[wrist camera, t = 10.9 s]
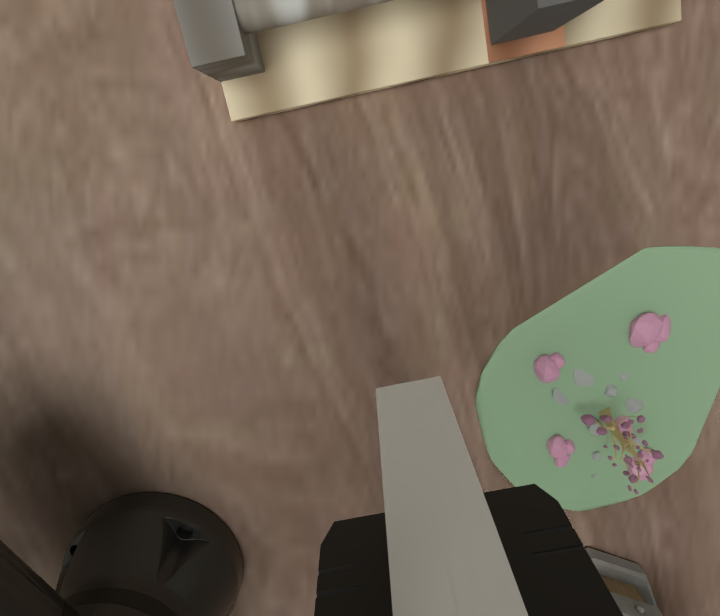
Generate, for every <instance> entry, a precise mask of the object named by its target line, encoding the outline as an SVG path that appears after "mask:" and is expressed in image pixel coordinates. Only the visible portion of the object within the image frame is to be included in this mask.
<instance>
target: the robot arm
mask: <svg viewBox="0 0 720 616" xmlns="http://www.w3.org/2000/svg"><path fill="white" fill-rule="evenodd" d="M375 389H376V402H377V415H378V428H379V441H380V454H381V467H382V481H383V494H384V507H385V513H380V514H374V515H369V516H363V517H358V518H352V519H347V520H341V521H335V522H334V523H333V525H332V527H331V528H330V530H329V532H328V533H327V535H326V537H325V539H324V540H323V542H322V544H321V548H320V559H319V570H318V571H319V576H318V581H317V592H316V593H317V598H316V603H315V614H314V616H623V614H622V612H621V611H620V609H619V607H618V605H617V604H616V602H615V600H614V598H613V597H612V595H611V593H610V591H609V589H608V588H607V586H606V584H605V582H604V581H603V579H602V577H601V575H600V574H599V572H598V570H597V568H596V567H595V565H594V563H593V561H592V560H591V558H590V556H589V554H588V553H587V551H586V549H584V548H583V544H582V542H581V540H580V539H579V537H578V535H577V533H576V532H575V530H574V529H572V526H571V523H570V521H569V519H568V518H567V516H566V514H565V512H564V511H563V509H562V507H561V505H560V504H559V502H558V501H557V500H556V499H555V498H553V497H552V496H551V495H549V494H548V493H547V492H545V491H544V490H543V489H541V488H540V487H539V486H537V485H536V484H530V485H524V486H518V487H513V488H507V489H502V490H496V491H491V492H485V493H483V491H482V488H481V485H480V483H479V480H478V477H477V474H476V472H475V469H474V466H473V464H472V461H471V458H470V455H469V453H468V450H467V447H466V444H465V442H464V439H463V436H462V434H461V431H460V428H459V425H458V423H457V420H456V417H455V415H454V412H453V409H452V406H451V404H450V401H449V398H448V395H447V393H446V390H445V387H444V385H443V382H442V379H441V376H438V377H432V378H427V379H422V380H417V381H412V382H407V383H401V384H396V385H391V386H386V387H381V388H375ZM242 576H243V560H242V555H241V551H240V548H239V546H238V543H237V541H236V539H235V538H234V536H233V534H232V533H231V531H230V530H229V529H228V527H227V526H226V525H225V524H224V523H223V522H222V521H221V520H220V519H219V518H218V517H217V516H216V515H214V514H213V513H212V512H210V511H209V510H207V509H206V508H204V507H202V506H201V505H199V504H197V503H195V502H192V501H190V500H188V499H185V498H182V497H178V496H174V495H170V494H164V493H137V494H131V495H126V496H123V497H119V498H117V499H114V500H112V501H110V502H108V503H106V504H104V505H103V506H101V507H100V508H98V509H97V510H96V511H95V512H94V513H93V514H91V515H90V517H89V518H88V519H87V520H86V521H85V523H84V524H83V526H82V527H81V528H80V530H79V531H78V532H77V534H76V535H75V537H74V538H73V540H72V541H71V543H70V545H69V547H68V549H67V551H66V554H65V557H64V561H63V565H62V570H61V573H60V576H59V580H58V584H57V588H56V591H55V590H54V589H53V588H52V587H50V586H49V585H48V584H47V583H46V582H45V581H44V580H43V579H42V578H41V577H40V576H39V575H38V574H36V573H35V572H34V571H33V570H32V569H31V568H30V567H29V566H28V565H27V564H26V563H25V562H23V561H22V560H21V559H20V558H19V557H18V556H17V555H16V554H15V553H14V552H13V551H12V550H11V549H9V548H8V547H7V546H6V545H5V544H4V543H3V542H2V541H1V540H0V616H229V615H230V613H231V611H232V609H233V607H234V605H235V602H236V599H237V596H238V592H239V588H240V585H241V581H242Z"/></svg>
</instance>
